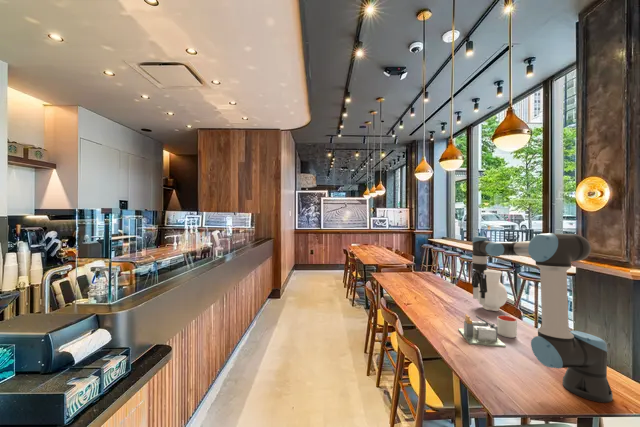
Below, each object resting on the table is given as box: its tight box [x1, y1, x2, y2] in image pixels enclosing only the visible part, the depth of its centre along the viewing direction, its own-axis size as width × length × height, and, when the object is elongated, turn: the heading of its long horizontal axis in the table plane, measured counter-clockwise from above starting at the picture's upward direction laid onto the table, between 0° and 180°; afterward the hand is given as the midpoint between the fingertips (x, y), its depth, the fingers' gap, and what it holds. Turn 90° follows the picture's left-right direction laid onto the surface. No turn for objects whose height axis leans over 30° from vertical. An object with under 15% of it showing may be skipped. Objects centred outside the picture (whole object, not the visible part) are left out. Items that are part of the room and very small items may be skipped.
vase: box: [476, 268, 508, 312], centre depth 222 cm, size 19×21×30 cm
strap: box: [475, 315, 493, 327], centre depth 169 cm, size 3×12×1 cm
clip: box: [464, 314, 473, 324], centre depth 170 cm, size 4×2×4 cm, turn 171°
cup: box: [496, 315, 518, 339], centre depth 174 cm, size 10×10×10 cm
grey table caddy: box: [457, 320, 507, 348], centre depth 169 cm, size 20×18×9 cm
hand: (478, 301), depth 170 cm, fingers open, 9 cm apart
